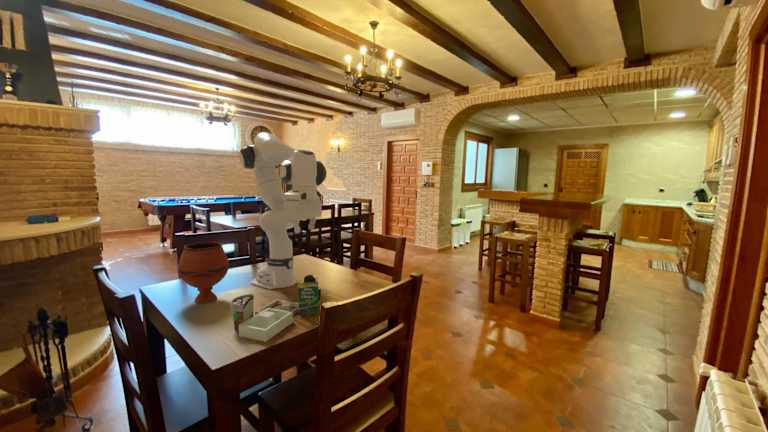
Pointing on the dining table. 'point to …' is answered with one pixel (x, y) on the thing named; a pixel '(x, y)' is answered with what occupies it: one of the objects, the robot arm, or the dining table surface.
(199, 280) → the goblet
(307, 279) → the beige square canister
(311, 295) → the coffee box
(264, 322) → the off-white cube
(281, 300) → the beech tray
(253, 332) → the sage bin
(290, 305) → the pale grey cube
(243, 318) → the food container
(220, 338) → the dining table surface
